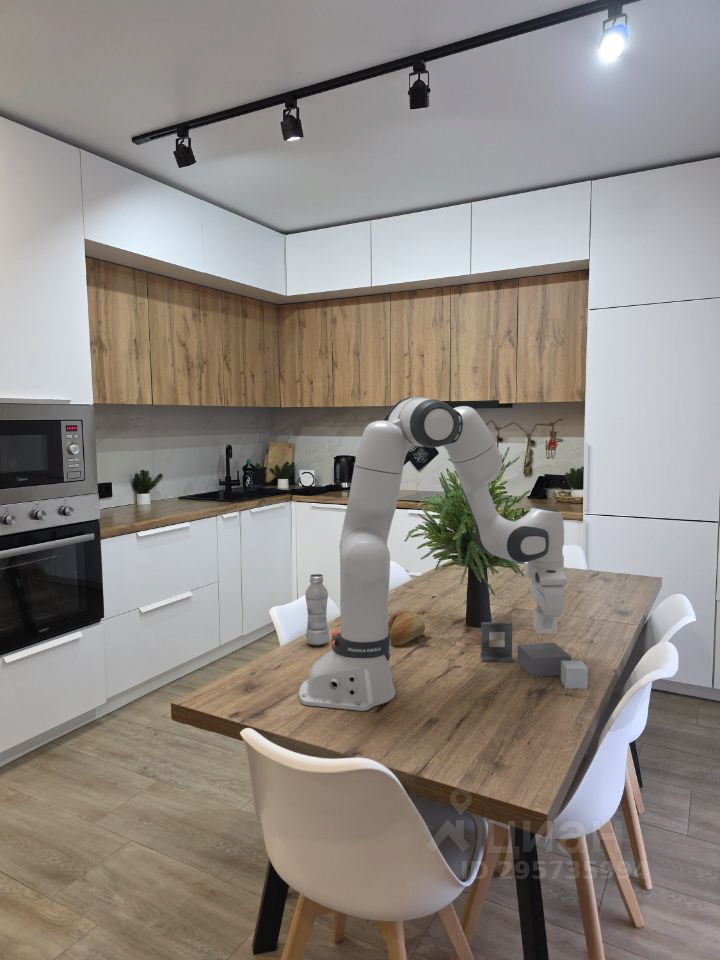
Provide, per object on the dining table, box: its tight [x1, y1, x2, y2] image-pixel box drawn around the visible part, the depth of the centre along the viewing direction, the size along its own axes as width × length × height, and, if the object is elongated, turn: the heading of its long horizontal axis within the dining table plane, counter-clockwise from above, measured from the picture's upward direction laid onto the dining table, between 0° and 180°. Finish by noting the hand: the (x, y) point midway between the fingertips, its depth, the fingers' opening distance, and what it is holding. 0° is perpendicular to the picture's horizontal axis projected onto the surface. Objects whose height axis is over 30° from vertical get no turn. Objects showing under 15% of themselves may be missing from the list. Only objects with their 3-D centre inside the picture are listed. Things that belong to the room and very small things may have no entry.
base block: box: [517, 642, 572, 678], centre depth 167 cm, size 10×10×5 cm
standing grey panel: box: [479, 622, 514, 663], centre depth 174 cm, size 8×4×10 cm, turn 87°
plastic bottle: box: [304, 573, 330, 646], centre depth 186 cm, size 6×7×20 cm
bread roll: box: [388, 610, 426, 646], centre depth 189 cm, size 10×15×8 cm, turn 149°
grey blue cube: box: [560, 660, 589, 690], centre depth 157 cm, size 5×5×5 cm
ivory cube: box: [532, 607, 559, 634], centre depth 166 cm, size 5×5×5 cm
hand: (544, 623), depth 166 cm, fingers closed on ivory cube, 5 cm apart
